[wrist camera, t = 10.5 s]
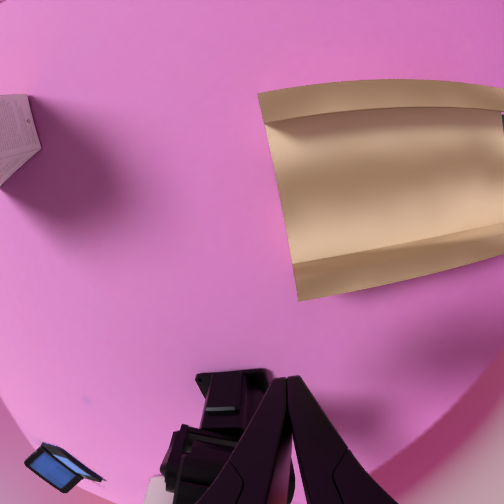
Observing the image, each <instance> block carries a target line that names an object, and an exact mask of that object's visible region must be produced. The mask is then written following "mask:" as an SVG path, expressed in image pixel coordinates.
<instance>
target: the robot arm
mask: <svg viewBox="0 0 504 504" xmlns="http://www.w3.org/2000/svg"><path fill="white" fill-rule="evenodd" d="M195 381H196V383H197V384H198V386H199V388H200V390H201V392H202V394H203V396H204V398H205V399H206V400H205V404H204V409H203V414H202V418H201V423H200V428H199V429H198V428H194V427H189V425H185V424H182V426H181V429H180V430H179V431H176V432H173V435H172V439H171V443H170V446H169V449H168V451H167V453H166V455H165V457H164V460H163V462H162V464H161V467H160V472H161V474H162V475H163V476H164V478H165V480H164V482H165V483H166V488H165V489H166V491H167V492H170V493H174V497H173V503H172V504H290V503H291V501H292V498H293V495H294V490H295V474H294V469H293V464H292V459H291V451H292V435H293V441H294V446H295V450H296V455H297V459H298V464H299V469H300V473H301V478H302V482H303V487H304V491H305V496H306V501H307V504H398V503H397V502H396V501H395V500H394V499H393V498H392V497H391V496H390V495H388V493H386V491H384V490H383V489H382V488H381V487H380V486H379V485H378V484H377V483H376V482H375V481H374V480H373V478H372V477H371V476H370V475H369V474H368V473H367V472H366V471H365V470H364V468H363V467H362V466H361V464H360V463H359V462H358V460H357V459H356V458H355V456H354V455H353V454H352V452H351V451H350V450H349V449H348V447H347V445H346V444H345V442H344V441H343V439H342V438H341V436H340V435H339V433H338V432H337V430H336V429H335V428H334V426H333V425H332V423H331V422H330V420H329V419H328V417H327V416H326V414H325V413H324V411H323V410H322V408H321V407H320V405H319V404H318V402H317V401H316V399H315V398H314V396H313V395H312V393H311V392H310V390H309V389H308V387H307V386H306V384H305V383H304V381H303V380H302V378H301V377H300V376H299V375H296V376H289V377H287V379H286V377H280V378H274V379H273V380H272V382H271V384H270V385H269V381H268V378H267V375H266V371H265V370H264V369H251V370H242V371H230V372H218V373H202V374H197V375H196V378H195Z"/></svg>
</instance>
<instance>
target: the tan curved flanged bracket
mask: <svg viewBox="0 0 504 504" xmlns="http://www.w3.org/2000/svg"><path fill="white" fill-rule="evenodd" d="M257 95H258V99H259V103H260V107H261V112H262V116H263V121H264V124H265V129H266V133H267V138H268V142H269V147H270V151H271V156H272V161H273V166H274V170H275V175H276V180H277V185H278V190H279V195H280V200H281V205H282V210H283V215H284V221H285V226H286V231H287V237H288V242H289V248H290V253H291V259H292V265H293V271H294V277H295V283H296V289H297V295H298V301H305V300H310V299H316V298H321V297H327V296H332V295H337V294H343V293H348V292H353V291H358V290H362V289H367V288H372V287H377V286H381V285H386V284H390V283H395V282H399V281H404V280H408V279H412V278H416V277H421V276H425V275H429V274H433V273H437V272H441V271H445V270H448V269H452V268H456V267H460V266H463V265H467V264H471V263H474V262H478V261H481V260H485V259H488V258H492V257H495V256H498V255H502V254H504V132H503V122H502V115H501V112H504V89H502V88H496V87H490V86H484V85H477V84H469V83H460V82H450V81H436V80H413V79H382V80H358V81H343V82H332V83H322V84H314V85H306V86H299V87H292V88H286V89H280V90H274V91H268V92H263V93H258V94H257Z"/></svg>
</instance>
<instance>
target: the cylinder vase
mask: <svg viewBox="0 0 504 504" xmlns="http://www.w3.org/2000/svg"><path fill="white" fill-rule="evenodd" d="M164 480H165V478H164V476H163V475H159V476H154V477H152V478H151V479H150V481H149V485H148V488H147V492H146V495H145V499H144V503H143V504H172V503H173V497H174V493H170V492H167V491H166V489H165V488H166V483H165V482H164Z"/></svg>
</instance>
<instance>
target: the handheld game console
mask: <svg viewBox="0 0 504 504" xmlns="http://www.w3.org/2000/svg"><path fill="white" fill-rule="evenodd" d="M24 464H25V466H26V467H28V468H29V469H30V470H31V471H33V472H34V473H35V474H37V475H38V476H39V477H41V478H42V479H43V480H45V481H46V482H47V483H49V484H50V485H52V486H53V487H55V488H56V489H58V490H59V491H60V492H62V493H68V492H69V491H70V490H71V489H72V488H73V487H74V486H75V485H76V484H77V483H79V482H80V481H81V480H83V479H84V478H86V479H90V480H94V481H97V482H101V481H102V479H101V477H99V476H98V475H96V474H95V473H94V472H92V471H91V470H89V469H88V468H87V467H85V466H84V465H83V464H81V463H80V462H79V461H77V460H76V459H75V458H73V457H72V456H71V455H70V454H68V453H67V452H66V451H65V450H63V449H62V448H60V447H57V446H53V445H50V444H46V443H44V442H43V443H42V444H41V446H40V447H39V448H38V449H37V450H36V451H35V452H34V453H33V454H31V455H30V456H29V457H28V458H27V459H26V460H25V462H24Z"/></svg>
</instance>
